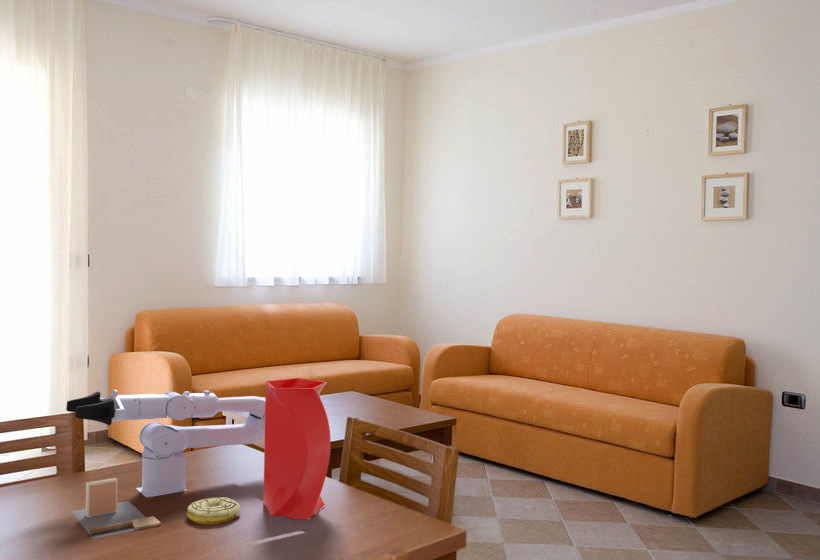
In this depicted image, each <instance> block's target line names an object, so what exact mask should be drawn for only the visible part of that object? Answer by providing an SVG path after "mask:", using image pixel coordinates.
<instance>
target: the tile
mask: <svg viewBox="0 0 820 560" xmlns="http://www.w3.org/2000/svg"><path fill="white" fill-rule="evenodd" d="M118 481H119V480H118V478H117V477H113V478H107V479H101V480H95V481H94V480H93V481H88V482H87V481H86V483H85V493H86V494H85V509H86V516H87V517H92V516H97V515H103V514H108V513H113V512H117V503H118V485H119V483H118Z"/></svg>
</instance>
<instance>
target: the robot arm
mask: <svg viewBox="0 0 820 560" xmlns="http://www.w3.org/2000/svg"><path fill="white" fill-rule="evenodd" d="M66 412H69V413H75V414H74V418H76V419H80V420H87V421H94V422H99V423H101V424H105V425H107V426H109V427H111V425H112V424H113V423H114V422H118V421H134V420H136V421H138V420H157V419H167V418H170V419H171V420H175V421H180V422H181V421H183V420H185V419H187V418H188V419H189V418H190V419H191V418H212V417H214V416H215V415H216V414H217V413H219V412H234V413H236V412H237V413H238V412H239V413H240V412H241V413H242V412H243V413H248V414H247V416H246V419H245V420H244V422H243V423H240V424H239V423H238V424H217V425H216V424H215V425H197V426H196V425H193V426H177V425H173V424H172V425H171V424H169V425H168V424H162V423H161V422H158V421H152V422H148V423H146V424H145V425H144V426H143V427H142V428H141V430H140V433H139V436H138V437H139V441H140V444H141V445H142V446H143V451H142V456H141V457H142V461H141V462H142V466H141V468H142V469H141V472H142V473H141V487H136V488H135V489H136V490H137V491H138V492H139V493H141V494H142V496H144V497H145V498H153V497H158V496H162V495H163V496H164V495H168V494H173V493H181V492H186V491H187V460H186V456H185V454H184V453H183V452H184V451H185V449H193V448H207V447H210V448H211V447H225V446H236V445H237V446H238V445H239V446H240V445H252V444H253V445H254V444H257V443H258V442H259V441H261V440H263V439H265V396H257V395H256V396H255V395H249V396H246V395H245V396H231V397H229V396H228V397H218V396H217V395H216V394H215V393H214V392H211V391H210V390H208V389H207V390H203V391H202V393H201V392H195V393H194V392H190V391H188V390H187V391H183V393H182V394H180V393H178V392H175V391H172V390H169V391H165V392H164V393H163V394H162V393H160V394H157V393H142V394H141V393H140V394H119V392H118V390H117V389H112V392H111V394H110V395H108V396H107V397H101V392H100V391H96V392H93V393H92V394H89V395H87V396H84V397H79V398H76V399H70V400H67V401H66Z"/></svg>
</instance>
